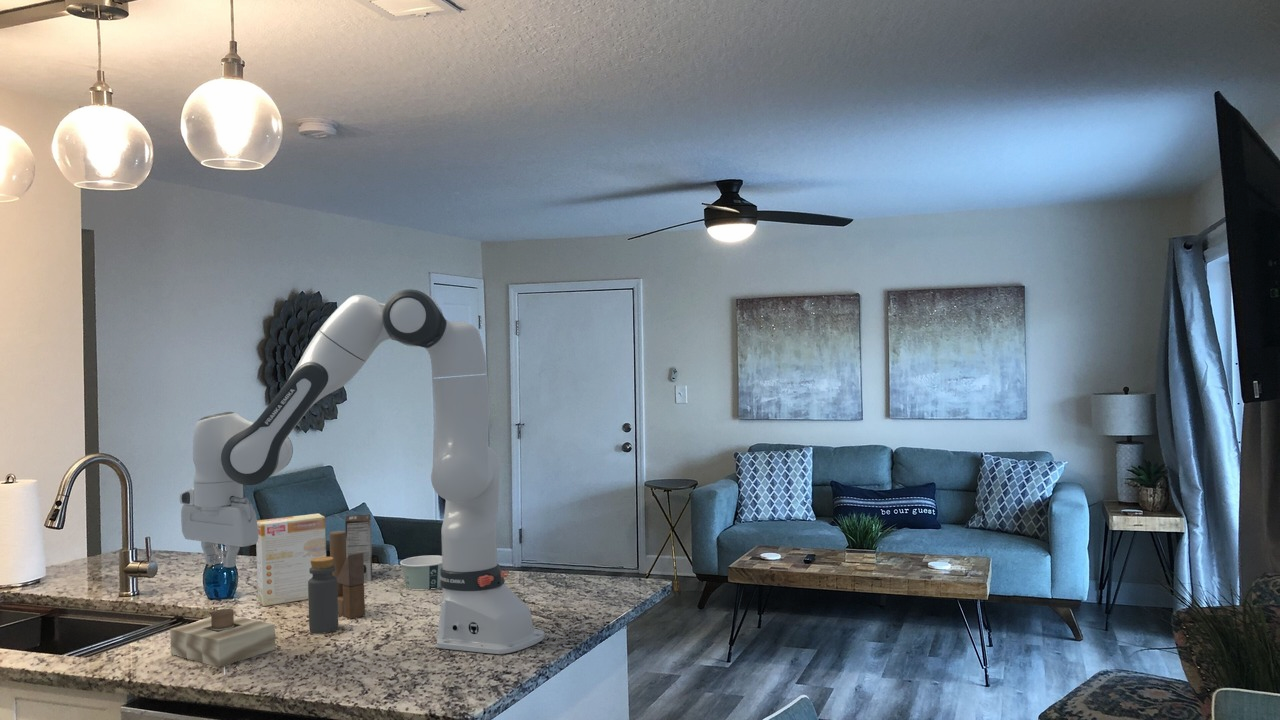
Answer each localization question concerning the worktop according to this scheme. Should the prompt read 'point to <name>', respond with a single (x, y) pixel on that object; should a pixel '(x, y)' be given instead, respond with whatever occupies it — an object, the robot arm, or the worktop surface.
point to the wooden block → (347, 577)
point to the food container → (422, 571)
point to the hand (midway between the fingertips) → (220, 565)
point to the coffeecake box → (288, 556)
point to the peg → (222, 620)
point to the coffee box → (360, 540)
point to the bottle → (322, 596)
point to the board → (222, 641)
